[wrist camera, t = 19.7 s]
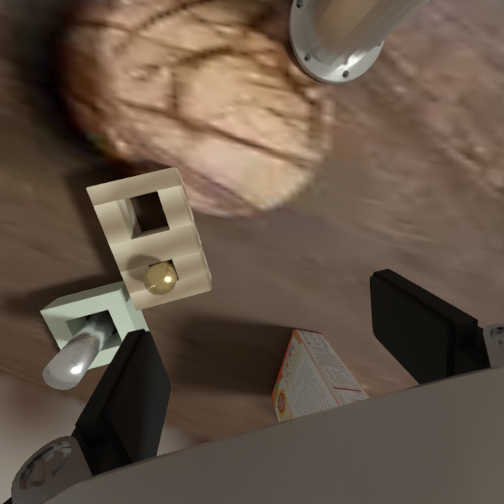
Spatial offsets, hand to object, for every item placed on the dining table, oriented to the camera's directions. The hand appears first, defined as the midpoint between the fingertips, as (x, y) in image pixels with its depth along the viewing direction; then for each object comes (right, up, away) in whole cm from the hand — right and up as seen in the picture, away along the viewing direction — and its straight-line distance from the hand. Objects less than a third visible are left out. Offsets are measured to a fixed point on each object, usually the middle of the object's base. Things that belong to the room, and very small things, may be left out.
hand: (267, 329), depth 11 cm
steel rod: (-22, -7, +28) cm, 36 cm away
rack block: (-22, -7, +28) cm, 36 cm away
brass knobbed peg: (-13, +2, +27) cm, 30 cm away
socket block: (-13, +6, +26) cm, 30 cm away
